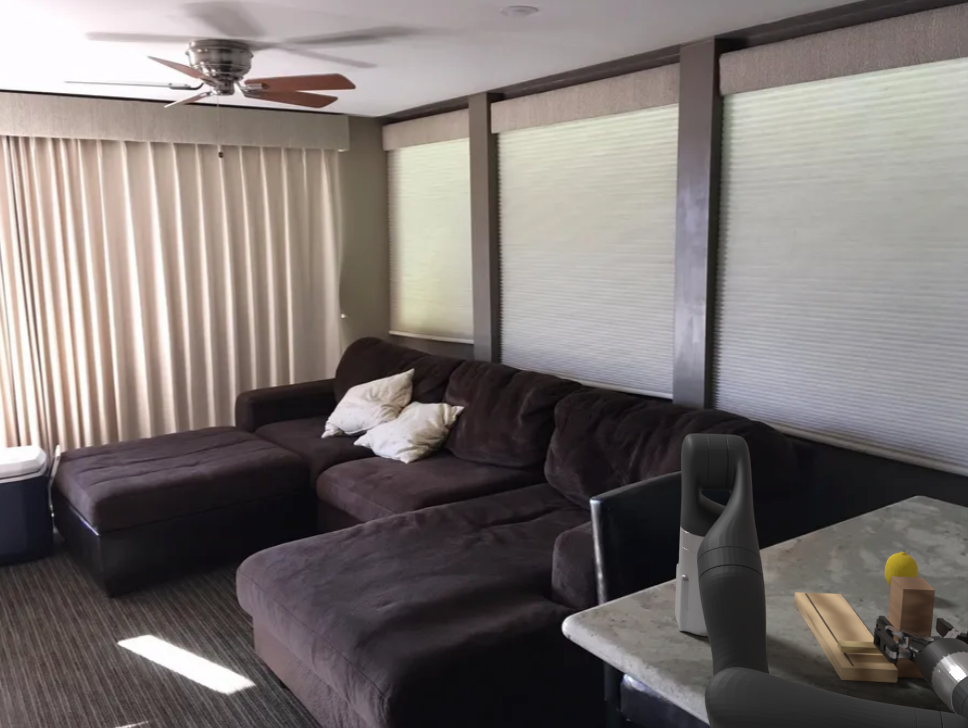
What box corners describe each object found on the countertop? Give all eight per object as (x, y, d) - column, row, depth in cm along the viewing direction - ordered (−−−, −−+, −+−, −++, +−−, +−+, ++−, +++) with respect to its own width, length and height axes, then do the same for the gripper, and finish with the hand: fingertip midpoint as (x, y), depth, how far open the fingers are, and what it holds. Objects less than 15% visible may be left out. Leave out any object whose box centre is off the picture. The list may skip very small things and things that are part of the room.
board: (841, 679, 124) (842, 666, 124) (794, 602, 149) (795, 591, 149) (897, 682, 123) (898, 669, 123) (840, 604, 149) (841, 593, 148)
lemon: (898, 601, 150) (901, 559, 149) (876, 588, 155) (879, 547, 154) (923, 597, 151) (927, 555, 150) (900, 585, 157) (904, 544, 155)
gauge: (842, 674, 126) (848, 586, 123) (833, 658, 130) (839, 574, 128) (927, 678, 124) (935, 590, 122) (914, 662, 129) (922, 577, 127)
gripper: (904, 703, 111) (859, 643, 127) (1015, 708, 110) (955, 647, 126) (909, 650, 109) (863, 597, 125) (1021, 655, 108) (960, 601, 124)
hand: (909, 622), depth 126 cm, fingers open, 8 cm apart
